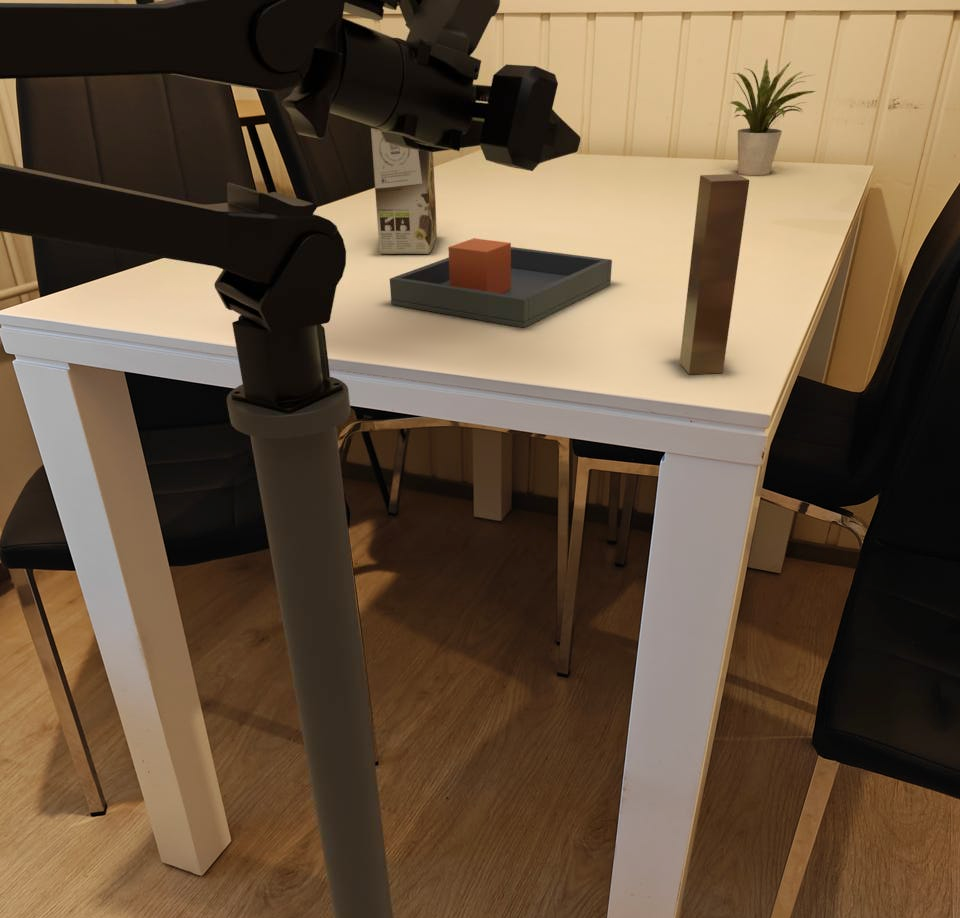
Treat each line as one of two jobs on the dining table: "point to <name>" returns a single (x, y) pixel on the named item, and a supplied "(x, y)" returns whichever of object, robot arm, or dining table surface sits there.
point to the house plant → (762, 122)
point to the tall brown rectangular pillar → (713, 271)
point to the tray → (533, 295)
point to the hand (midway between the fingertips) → (541, 139)
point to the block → (481, 265)
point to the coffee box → (404, 197)
